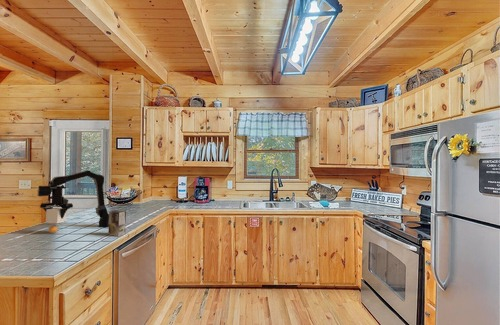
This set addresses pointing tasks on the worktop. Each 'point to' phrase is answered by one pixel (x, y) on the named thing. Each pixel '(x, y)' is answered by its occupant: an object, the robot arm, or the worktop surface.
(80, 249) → the worktop surface
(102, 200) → the robot arm
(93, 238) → the worktop surface
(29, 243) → the worktop surface
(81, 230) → the worktop surface
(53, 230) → the ball
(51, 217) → the beige cardboard box
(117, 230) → the coffee box
